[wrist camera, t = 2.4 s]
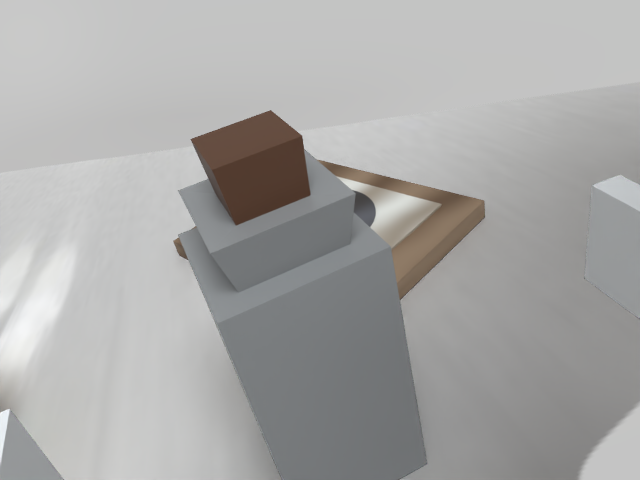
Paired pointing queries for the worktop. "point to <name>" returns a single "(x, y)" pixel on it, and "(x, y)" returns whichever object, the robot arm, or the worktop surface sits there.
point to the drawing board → (407, 220)
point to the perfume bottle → (303, 306)
